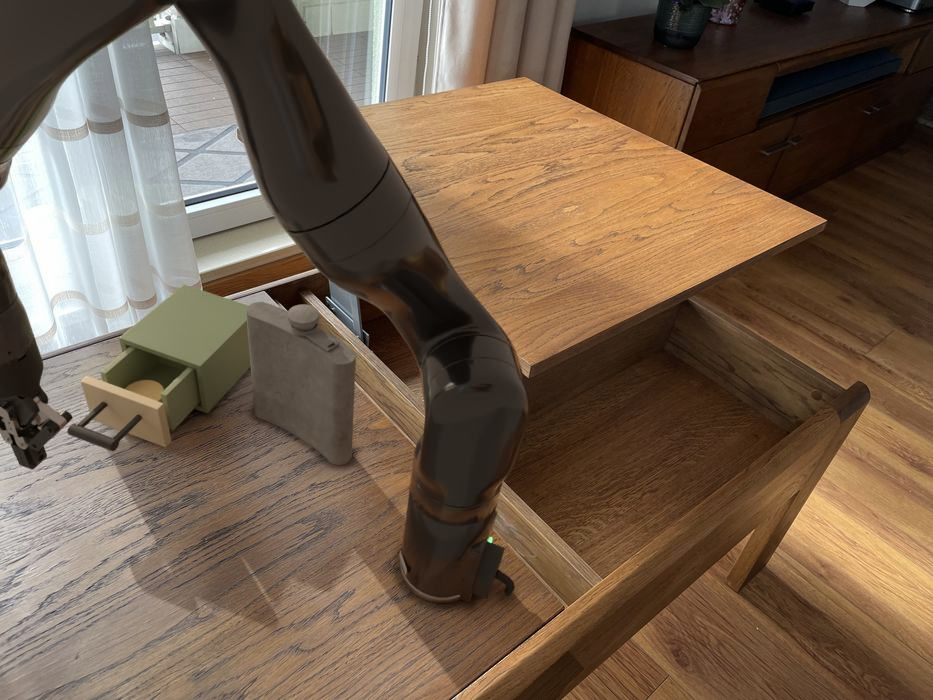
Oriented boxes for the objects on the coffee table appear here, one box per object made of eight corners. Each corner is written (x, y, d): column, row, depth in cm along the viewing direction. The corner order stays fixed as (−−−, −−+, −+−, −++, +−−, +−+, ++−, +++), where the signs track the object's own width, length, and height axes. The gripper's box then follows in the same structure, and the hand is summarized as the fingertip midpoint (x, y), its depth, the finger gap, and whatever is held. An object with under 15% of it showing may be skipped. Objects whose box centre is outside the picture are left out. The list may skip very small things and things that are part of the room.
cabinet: (207, 413, 96) (200, 366, 90) (130, 385, 98) (118, 337, 92) (261, 354, 106) (258, 308, 100) (190, 330, 108) (183, 284, 102)
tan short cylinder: (175, 401, 94) (172, 387, 92) (149, 426, 90) (146, 412, 89) (142, 389, 95) (139, 375, 93) (116, 413, 91) (112, 399, 89)
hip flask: (249, 412, 97) (238, 293, 84) (271, 396, 100) (263, 278, 87) (341, 469, 92) (344, 351, 79) (360, 450, 94) (367, 333, 82)
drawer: (135, 480, 85) (125, 441, 81) (58, 450, 87) (44, 411, 83) (223, 386, 99) (218, 348, 94) (155, 361, 101) (147, 324, 96)
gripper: (-109, 341, 64) (-47, 466, 75) (13, 387, 62) (59, 508, 73) (-38, 297, 70) (10, 419, 81) (76, 338, 68) (110, 458, 79)
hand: (33, 461), depth 77 cm, fingers closed
